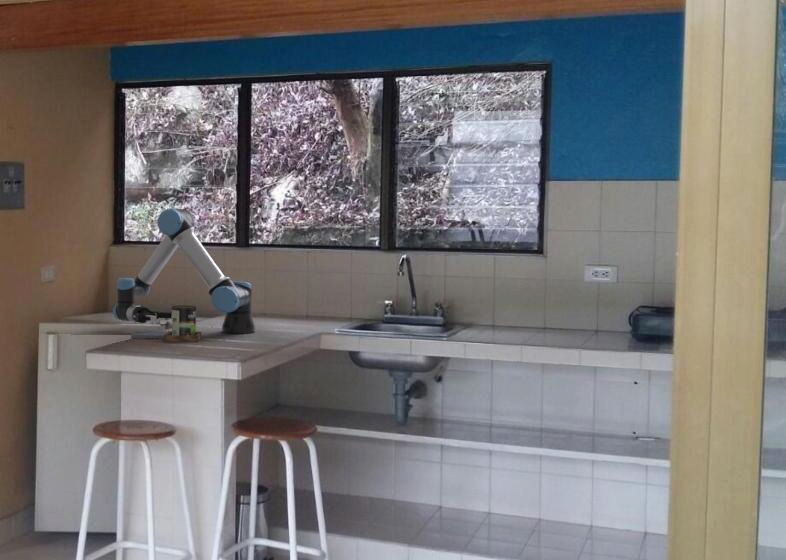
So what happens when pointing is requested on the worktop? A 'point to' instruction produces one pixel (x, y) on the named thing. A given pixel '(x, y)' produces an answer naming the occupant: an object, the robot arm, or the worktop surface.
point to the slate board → (147, 335)
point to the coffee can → (184, 320)
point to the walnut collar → (182, 337)
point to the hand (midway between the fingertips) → (168, 318)
